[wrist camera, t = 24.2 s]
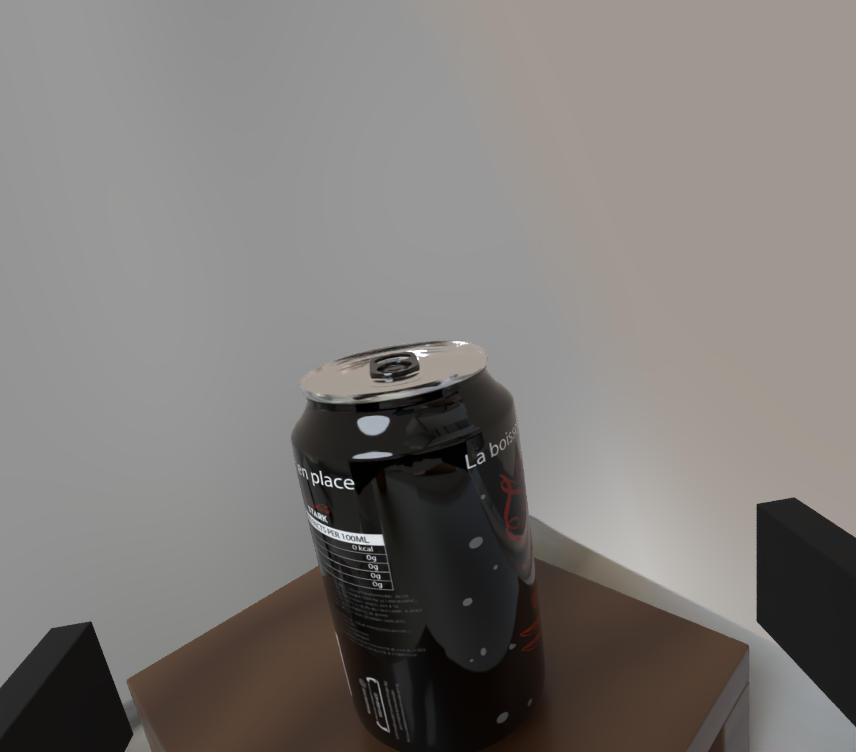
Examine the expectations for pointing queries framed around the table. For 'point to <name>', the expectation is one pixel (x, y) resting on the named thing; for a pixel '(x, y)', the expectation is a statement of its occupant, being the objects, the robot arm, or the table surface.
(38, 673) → the robot arm
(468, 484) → the beverage can
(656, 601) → the table surface
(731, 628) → the table surface
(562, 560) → the table surface
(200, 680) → the shelf
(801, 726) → the table surface
